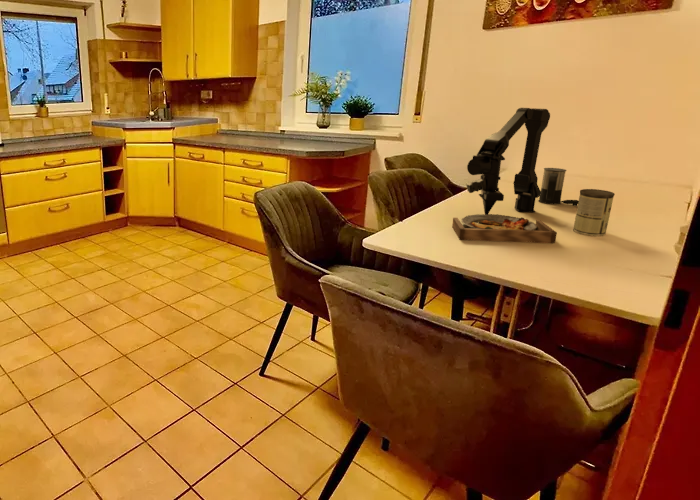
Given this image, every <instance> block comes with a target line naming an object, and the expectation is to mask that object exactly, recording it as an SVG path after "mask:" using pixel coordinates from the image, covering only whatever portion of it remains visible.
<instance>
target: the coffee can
mask: <svg viewBox="0 0 700 500" xmlns="http://www.w3.org/2000/svg"><path fill="white" fill-rule="evenodd" d="M614 197H615V192H613V191H610V190H605V189H598V188H597V189H595V188H583V189H580V191H579V197H578V204H577V208H576V213H575V218H574V219H575V220H574V224H573V229H572V231H573V232H575V233H577V234H580V235H584V236H588V237H589V236H590V237H603V236H606V235H607V229H608V225H609V220H610V216H611V215H610V214H611V211H612V206H613V201H614Z"/></svg>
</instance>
